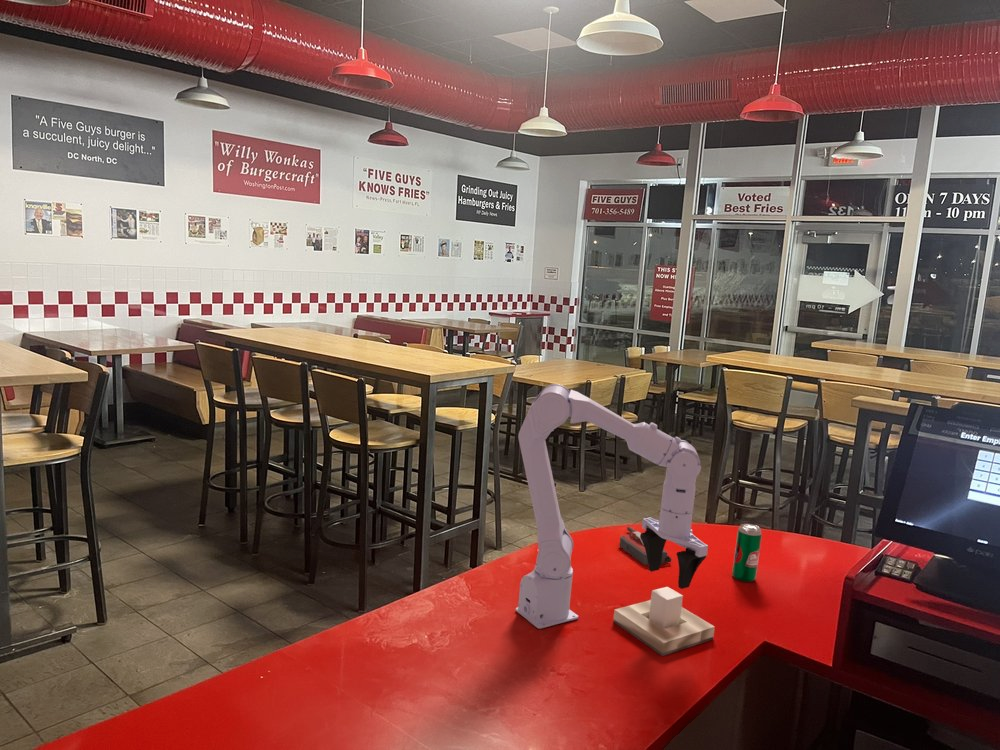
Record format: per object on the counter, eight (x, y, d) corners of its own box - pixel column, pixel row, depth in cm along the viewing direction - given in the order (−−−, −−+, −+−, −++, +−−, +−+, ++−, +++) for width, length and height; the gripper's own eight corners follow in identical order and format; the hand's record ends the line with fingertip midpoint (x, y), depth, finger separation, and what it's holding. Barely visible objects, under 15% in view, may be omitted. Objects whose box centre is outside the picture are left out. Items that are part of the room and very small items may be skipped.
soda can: (747, 585, 157) (754, 533, 155) (727, 576, 161) (734, 525, 159) (759, 579, 161) (767, 528, 159) (739, 571, 164) (746, 521, 162)
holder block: (662, 655, 126) (663, 642, 126) (613, 621, 137) (614, 609, 137) (713, 639, 133) (714, 626, 133) (662, 607, 144) (664, 596, 144)
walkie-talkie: (678, 565, 166) (631, 532, 184) (681, 547, 165) (632, 516, 184) (646, 569, 163) (601, 535, 181) (648, 550, 162) (603, 518, 180)
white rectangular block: (663, 635, 132) (667, 599, 131) (648, 625, 136) (651, 590, 134) (678, 630, 134) (682, 595, 133) (663, 620, 138) (667, 586, 137)
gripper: (723, 519, 127) (713, 591, 130) (664, 493, 139) (656, 559, 142) (695, 524, 124) (686, 598, 126) (637, 497, 136) (629, 565, 138)
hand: (668, 578), depth 133 cm, fingers open, 7 cm apart
